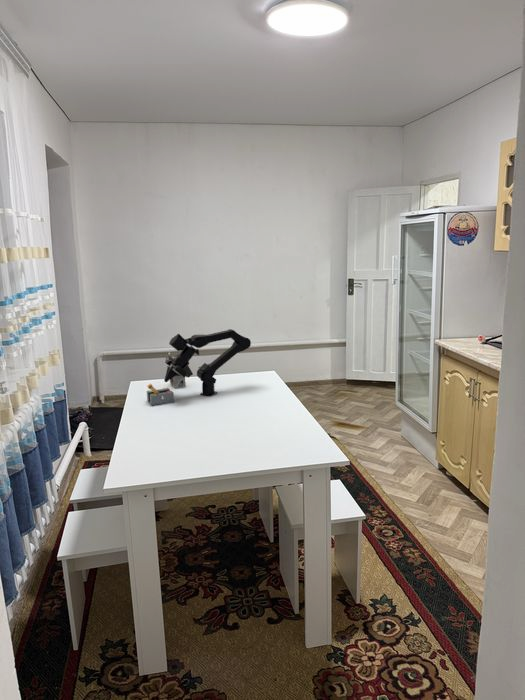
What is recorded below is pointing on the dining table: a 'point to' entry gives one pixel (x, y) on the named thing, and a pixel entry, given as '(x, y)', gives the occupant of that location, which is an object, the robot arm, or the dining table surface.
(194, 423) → the dining table surface
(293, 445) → the dining table surface
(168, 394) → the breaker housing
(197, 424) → the dining table surface
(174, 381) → the coffee box
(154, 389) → the breaker handle
